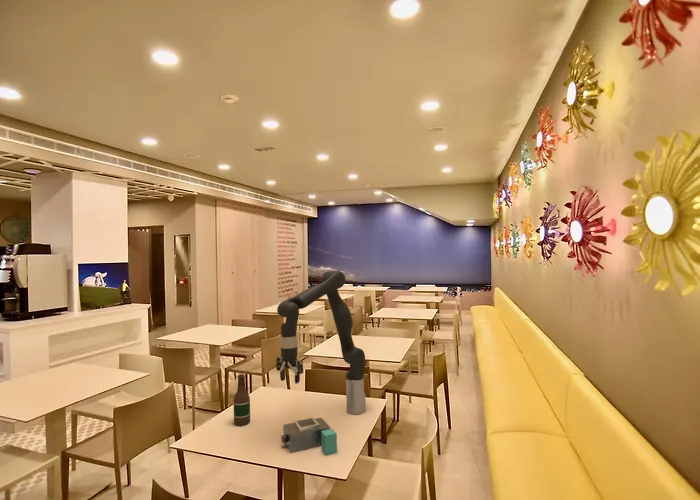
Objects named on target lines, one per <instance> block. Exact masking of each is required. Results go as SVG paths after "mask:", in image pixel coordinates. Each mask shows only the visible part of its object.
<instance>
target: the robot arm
mask: <svg viewBox="0 0 700 500" xmlns="http://www.w3.org/2000/svg"><path fill="white" fill-rule="evenodd" d="M345 283H346V276H345V274H344V272H342V271H340V270H327V271H325V272H323V273H322V276H321V283H318V284H316V285H314V286H310V287H309V288H306V289H305V290H303V291H301V292H299V293H298V294H297V295H295V296H293V297H290V298H287V299H286V300H283V301H281V303H279V305H278V306H277V309H276V312H277V314H278V316H280V317H282V318H285V322H283V323H282V324H281V325H280V356H279V357H278V356H277V358H276V364H275V365H276V367H275V368H276V371H277V372H279V376H280V377H279V378H280V381H285V380H286V369H288V370H291V372H293V373H294V384H299V383H300V381H301V379H300V378H301V377H300V376H301V374H303V373H304V365H303V362H304V361H303V360H302V359H298V338H297V325H298V321H299V316H300V310H304V309H305V308H307V307H308V306H310V305H311V304H312V303H314V302H316V301H317V300H318V299H320V298H322V297H324V296H326V297H327V300H328V303H329V306H330V309H331V313H332V317H333V322H334V324H335V328H336V331H337V335H338V338H339V342H340V350H341V355H342V358H343V361H344V362H345V363H346V364H349V371H347V372H346V373H345V388H346V393H345V394H346V395H345V396H346V397H345V398H346V413H347V414H350V415H360V414H363V413H364V412H365V413H366V411H367V405H366V404H367V403H366V402H367V401H366V400H367V399H366V393H365V388H364V384H365V383H364V377H365V375H364V374H365V372H366V354H365V351H364V350H363V349H362V348H359V347H356V346H355V343H354V341H353V337H352V336H353V335H352V333H353V332H352V331H353V327H354V321H353V317H352V313H351V311H350V308H349V307H348V305H347V304H346V302H344V300H343V299H342V297H341V295H340V292H339V290H338V289H341V288H342V287H344V285H345Z"/></svg>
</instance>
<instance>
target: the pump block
mask: <svg viewBox="0 0 700 500" xmlns="http://www.w3.org/2000/svg"><path fill="white" fill-rule="evenodd" d="M337 438H338V436H337V432H336V431H335V430H334V429H333V428H331V429H328V430H324V431H321V444H322V446H321V451H322V452H323V454H324V455H325V456H330V455H334V454H337V453H338V443H337V442H338V441H337V440H338V439H337Z"/></svg>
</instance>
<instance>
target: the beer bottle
mask: <svg viewBox="0 0 700 500" xmlns="http://www.w3.org/2000/svg"><path fill="white" fill-rule="evenodd" d="M236 377H237V388H236V389H237V391H236V392H235V394H234V397H233V423H234V426H235V427H246V426H248V425H249V424H250V423H251V400H250V394H249V393H248V391H247V389H246V379H245V378H246V375H245V374H244V373H242V374H241V373H240V374H238V375H237V376H236Z"/></svg>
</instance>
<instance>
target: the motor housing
mask: <svg viewBox="0 0 700 500" xmlns="http://www.w3.org/2000/svg"><path fill="white" fill-rule="evenodd" d="M282 428H283V429H282V433H283V435H281V436H280V438H281V439H280V440H281V444H284V445H285V446H286V448H287V449H288V451H289V453H291V454H292V453H296V452H300V451H305V450H309V449H314V448H317V447H318V448H319V447H322V444H321V431H324V430H328V429H332V427H331V426H330V425H329V424H328V423H327V422H326V421H325V419H324V418H323V417H317V418H314V417H307V418H301V419H296V420H293V422H292V423H286V424H283V425H282Z"/></svg>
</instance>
